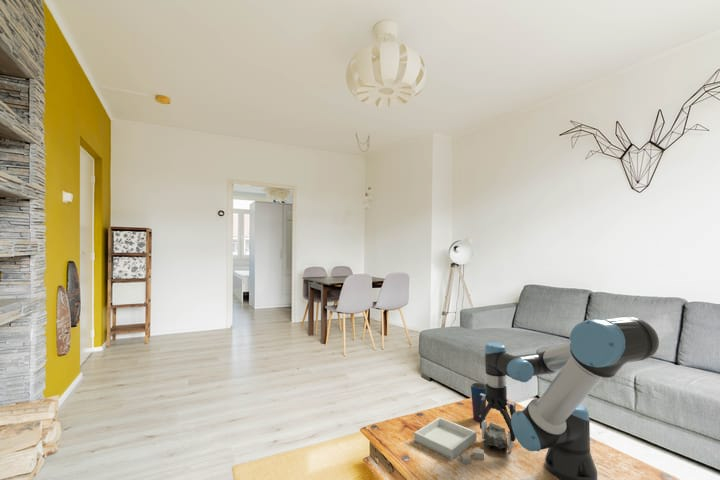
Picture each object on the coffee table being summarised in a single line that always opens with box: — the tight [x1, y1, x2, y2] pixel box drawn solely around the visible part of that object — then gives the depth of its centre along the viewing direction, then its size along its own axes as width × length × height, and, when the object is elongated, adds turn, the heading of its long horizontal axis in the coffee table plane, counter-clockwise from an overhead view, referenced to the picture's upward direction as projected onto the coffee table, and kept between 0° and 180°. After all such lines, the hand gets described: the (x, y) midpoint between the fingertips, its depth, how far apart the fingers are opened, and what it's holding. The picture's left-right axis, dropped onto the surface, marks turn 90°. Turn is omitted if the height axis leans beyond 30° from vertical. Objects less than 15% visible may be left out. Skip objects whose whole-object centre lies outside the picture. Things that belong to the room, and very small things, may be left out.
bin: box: [413, 417, 478, 461], centre depth 136 cm, size 17×18×4 cm
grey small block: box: [472, 448, 485, 460], centre depth 125 cm, size 4×3×2 cm
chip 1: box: [459, 453, 472, 464], centre depth 123 cm, size 3×3×2 cm
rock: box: [483, 422, 508, 450], centre depth 133 cm, size 13×9×6 cm, turn 161°
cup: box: [470, 382, 487, 423], centre depth 153 cm, size 7×7×15 cm
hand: (497, 443), depth 132 cm, fingers closed on rock, 10 cm apart
